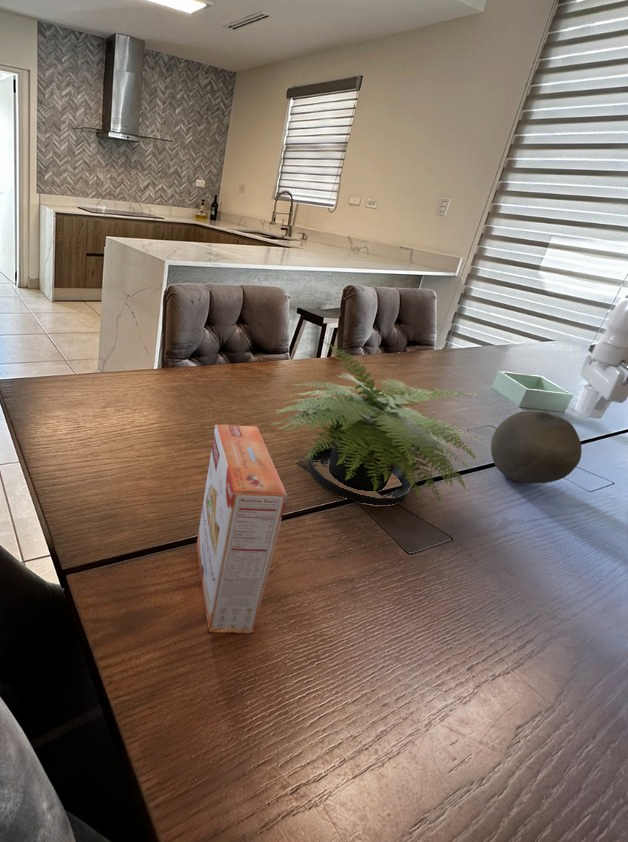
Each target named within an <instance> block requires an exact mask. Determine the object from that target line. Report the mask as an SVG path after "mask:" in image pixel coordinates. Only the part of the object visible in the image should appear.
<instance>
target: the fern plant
mask: <svg viewBox="0 0 628 842" xmlns="http://www.w3.org/2000/svg"><path fill="white" fill-rule="evenodd" d="M322 341H323V343H324V344H325V345H326V346H328V348H330V347H331V348H330V350H332V354H333V355H334V358H335V359H336V360H338V361H340V362H343V363H341V364H340V363H339V366H340V367H343V368H344V369H343V370H344V371H346V372H347V373H341V374H340V375H337V374H336V375H335V376H336V377H338V378H341V379H343V380H344V379H345V380H346V381H347V380H349V381H353V382H354V383H355V384H356V385H355V386H352V385H351V386H350V385H347V386H346V385H339V384H336V383H334V382H328V381H326V380H323V381H324V382H323V381H320V380H317V381H312V380H309V382H308V381H303V382H301V383H292V385H294V386H297V387H298V386H300V387H301V386H303V387H305V386H307V387H311V388H312V389H313V388H316V390H307V391H306V392H303V391H302V392H299V393H296V394H295V396H297V395H299V396H301V395H302V396H304V397H299V399H293V400H292V401H291V400H289V403H292V402H293V403H294V402H295V403H296V404H292V405H288V406H285V407H284V408H282V409H276V414H279V413H284V412H288V411H291V412H292V411H297V412H299V413H300V414H299V413H296V414H293V415H292V417H291V416H288V417H285V419H282V420H279V421H278V422H273V425H277V424H282V422H285V423H287V422H289V424H284V425H283V426H281V427H278V430H283V429H284V430H285V431H290V430H291V431H294V430H296V431H297V430H298V428H300V429H301V428H302V427H303V428H306V427H308V428H307V431H314V430H317V428H318V429H319V430H321V429H322V430H323V431H324V432H319V431H317V436H319V437H317V438H316V439H313V441H314V442H315V443H316V444H315V443H311V444H310V445H311V446H309V448H311V449H310V450H309V451H308V454H307V455H305V456H304V459H307V458H308V464H307V468H308V467H309V468H308V470H309V469H310V470H309V472H310V471H311V472H310V474H311V477H312V478H313V479H315V481H316V482H318V484H320V486H321V487H322V488H324V487H325V488H327V489H328V490H327V489H326V490H327V491H329V490H330V491H332V492H333V493H332V492H331V493H332V494H334V493H335V494H337V495H338V496H341V497H344V498H347V499H349V500H352V501H354V502H357V503H358V502H359V503H367V504H373V505H389V504H390V505H392V504H396V503H399V502H402V501H403V502H404V501H405V499H406V498H407V496H408V495H409V492H410V491H411V489H412V488H413V490H414V491H415V493H416V495H417V498H420V492H421V489H420V487H421V486H420V485H418V484H416V483H418V481H421V480H422V481H423V480H426V481H425V482H424V485H427V489H429V488H430V487H432V488H431V492H432V493H433V495H434V496H436V498H437V500H438V502H439V503H441V499H442V497H441V494H440V493H439V492H440V490H438V489H436V488H437V485H435V486H434V484H435V481H434V480H433V474H432V472H434V473H436V472H437V470H438V475H439V477H441V478H443V480H444V481H445V483H446V484H447V486H449V485H448V484H450V487H451V488H452V487H453V484H454V478H455V481H456V482H458V483H459V484H460V485H461V486H462V487H463V488H464V490H465V491H466V487H465V486H466V485H465V481H464V479H463V477H462V476H460V475H461V473H458V470H457V469H455V467H454V465H453V464H452V463H451V461H450V460H453V458H454V461H456V462H457V463H461V465H463V466H465V467H466V468H467V469H468V470H469V471H471V469H470V468H469V466H468V465H467V464H466V463H465V462H464V461H463V459H460V458H458V456H457V454H455V453H454V452H453V451H452V450H454V448H453V447H455V448H457V450H459V448H460V449H461V450H462V451H463V452H466V454H469V455H470V456H471V457H472V458H473V459H474V460H476V459H477V457H476V455H475V453H474V452H473V451H472V450H473V449H472V448H469V447H468V445H465V442H464V441H463V440H462V439H461V438H462V437H463V435H464V436H465V437H466V439H470V440H474V441H477V442H479V443H481V444H483V445H485V446H487V444H486V443H484V442H483V441H482V440H480V439H478V438H477V436H475V437H473V434H469V433H467V432H465V431H463V430H462V429H461V428H459V427H457V426H456V425H454V426H450V425H451V423H449V422H444V421H442V420H440V419H438V418H432V417H430V416H431V415H429V414H423V412H422V410H419V411H418V410H417V408H416V409H412V407H411V406H413V407H414V406H415V405H419V403H425V402H427V401H431V400H432V399H433V400H437V401H438V400H441V399H440V397H441V398H447V399H449V398H450V397H458V398H459V396H466V395H468V396H473V395H474V396H477V393H471V392H467V391H465V392H464V391H461V390H460V391H459V390H452V389H451V390H450V389H446V388H443V390H442V391H441V392H440V388H434V389H432V390H431V391H429V389H428V388H425V387H424V388H423V389H421V388H416V387H414V388H413V387H411V386H408V388H407V386H406V383H405V382H403V381H400V380H398V379H389V378H388V379H384V380H379V381H378V383H379V384H380V385H381V387H380V386H379V385H376V383H375V382H376V381H375V380H376V379H375V378H370V376H371V375H372V374H371V372H367V367H365V364H363V365H361V366H360V364H361V363H362V362H361V360H359V359H353V354H350V353H346V352H345V350H344V349H339V347H338V346H336V345H334V346H332V344H331V343H329V342H326V341H325V340H322ZM336 356H338V357H336ZM351 374H352V375H351ZM353 375H354V376H355V377H354V376H353ZM369 378H370V379H369ZM375 386H377V387H378V388H375ZM382 386H383V387H382ZM325 387H327V388H326V389H325ZM379 388H380V389H379ZM322 390H323V391H322ZM355 392H358V393H355ZM307 395H309V396H310V397H308V396H307ZM291 396H292V397H293V394H291V395H290V397H291ZM313 396H314V397H313ZM285 403H287V401H285V402H284V404H285ZM412 403H413V404H412ZM414 404H415V405H414ZM404 406H407V407H404ZM409 406H410V407H409ZM426 416H429V417H426ZM289 425H290V427H289ZM449 426H450V427H449ZM320 427H321V428H320ZM440 436H441V438H440ZM450 443H451V444H452V445H453V447H452V446H451V445H450ZM467 447H468V448H467ZM451 449H452V450H451ZM448 457H449V458H448ZM328 459H330V460H328ZM313 460H316V461H313ZM317 460H321V461H320V462H321V464H324V465H322V466H325V463H326V464H328V463H329V462H327V461H330V464H329V471H330V473H331V474H332V476H333V477H334V478H335V479H337V480H338V481H339V482H341V483H343V484H344V485H346V486H348V487H351V488H354V489H357V490H364V491H379V490H382V489H383V488H384V487H385V486H386V484H387V482H388V480H389V478H390V476H391V474H392V473H393V474H394V475H396V477H397V478H398V479H399V480H400V482H401V483H402V487H401V488H399V489H396V490H395V491H392V492H393V494H392V492H390V493H387V496H390V495H392V497H393V496H394V497H395V498H394V497H393V498H375V497H370V496H365V495H360V494H357V493H354V492H352V491H349V490H346V489H344V488H341V487H339V486H338V485H336V484H334V483H333V482H331V481H329V480H328V479H326V478H325V477H324V476H323V475H322V474H321V473H320V472H318V471H317V470H316V469H315V467H314V466H317V465H313V462H319V461H317ZM324 461H325V462H324ZM429 464H431V466H430V465H429ZM325 467H327V466H325ZM421 467H422V468H421ZM423 467H424V468H423ZM426 468H429V469H431V471H430V470H428V469H426ZM433 468H434V471H433ZM454 469H455V470H454ZM415 472H417V473H416V476H415ZM416 478H418V479H416ZM416 480H417V481H416ZM325 488H324V489H325ZM330 491H329V492H330ZM335 494H334V495H335ZM337 495H336V496H337ZM338 496H337V497H338ZM341 497H340V498H341ZM405 497H406V498H405ZM344 498H343V499H344ZM349 500H348V501H349ZM354 502H353V503H354ZM403 502H402V503H403ZM399 504H400V503H399Z"/></svg>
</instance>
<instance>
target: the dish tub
mask: <svg viewBox="0 0 628 842" xmlns="http://www.w3.org/2000/svg"><path fill="white" fill-rule="evenodd" d="M491 388H492V389H494V390H495V391H496V392H497V393H499V394H500V395H502V396H503V397H505V398H506V399H507V400H509V401H511V403H512V404H514V405H516V406H517V407H518V408H525V409H526V408H527V409H533V410H542V411H553V412H559V413H560V412H561V413H566V411H567V409H568V407H569V405H570V402H571V401H572V399H573V397H574V394H573V393H571V392H570V391H568V390H566V389H565V388H563V387H561V386H560V385H558V384H556V383H554V382H552V381H551V380H549V379H547V378H546V377H544V376H542V375H535V374H527V373H519V372H510V371H504V370H503V371H501V370H498V372H497V374H496V377H495V379H494V381H493V384H492V386H491Z"/></svg>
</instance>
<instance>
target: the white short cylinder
mask: <svg viewBox="0 0 628 842" xmlns="http://www.w3.org/2000/svg"><path fill="white" fill-rule="evenodd" d="M599 394H600V393H599V392H598V391H597V390H596V389H595V388H593V387H592V386H591V385H587V384H583V385H582V387H581V390H580V393H579V397H578V399H577V402H576V405H575V408H574V411H575V412H576V413H578V414H580V415H582V416H585V417H586V418H591V419H598V420H599V419H601V418H602V417H603V415H605V412H606V411H607V410H608V408H609V406H610V405H611V404H612V402H613V401H609V402H608V403H607V404H606V405H605V406H604V408H603V409H602V410H601V411H599V410H595V409H594V408H593V405H594V404H595V402H596V401H597V399H598V398H599V397H598V396H599Z"/></svg>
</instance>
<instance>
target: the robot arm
mask: <svg viewBox="0 0 628 842" xmlns="http://www.w3.org/2000/svg"><path fill="white" fill-rule="evenodd" d="M610 314H611V315H610V316H609V317H608V320H607V322H606V328H605V331H604V333H603V335H601V336H600V338H599V340H598V341H597V342H595V343H590V344H589V345H588V346H587V352H588V353H587V354H586V356H585V359H584V362H583V364H582V366H581V368H580V376H581V377H582V378H583V380H585V381H586V382H587V384H586V385H591V386H592V387H593V388H595V389H596V390H597V391H598V392H599V393H600V394H599V396H598V397H599V398H598V399H597V401H596V402H595V404H594V405H593V408H594V409H595V410H599V411H601V410H602V409H603V408H604V406H605V405H606V404H607V403H608V402H609V401H612V402H614V403H618V404H622V403H624V402H626V401H627V399H628V293H627V294H625V295H624V296H622V298H621V299H620V300H619V301H618V303H617V304H616V306H615V307H614V308H613V311H612V313H610Z"/></svg>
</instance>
